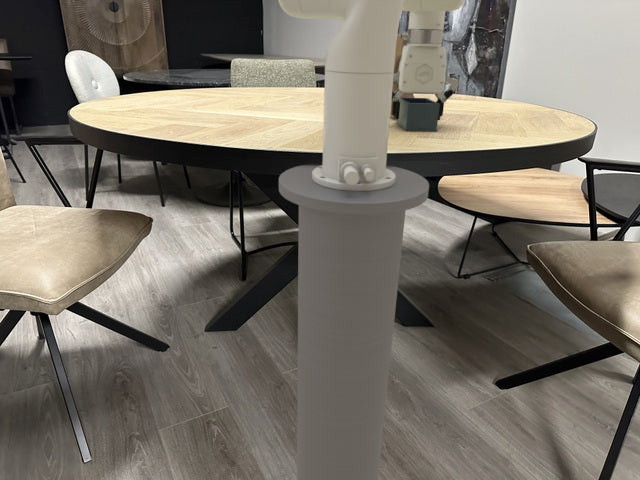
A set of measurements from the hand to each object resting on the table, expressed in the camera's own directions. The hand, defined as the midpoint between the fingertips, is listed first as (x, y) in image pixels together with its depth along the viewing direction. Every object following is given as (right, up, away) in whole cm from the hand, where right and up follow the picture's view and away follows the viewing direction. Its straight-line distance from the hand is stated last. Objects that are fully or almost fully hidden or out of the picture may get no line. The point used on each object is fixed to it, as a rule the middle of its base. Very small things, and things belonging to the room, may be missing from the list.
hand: (416, 119), depth 109 cm
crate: (0, -2, +1) cm, 2 cm away
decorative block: (-2, +4, +15) cm, 15 cm away
